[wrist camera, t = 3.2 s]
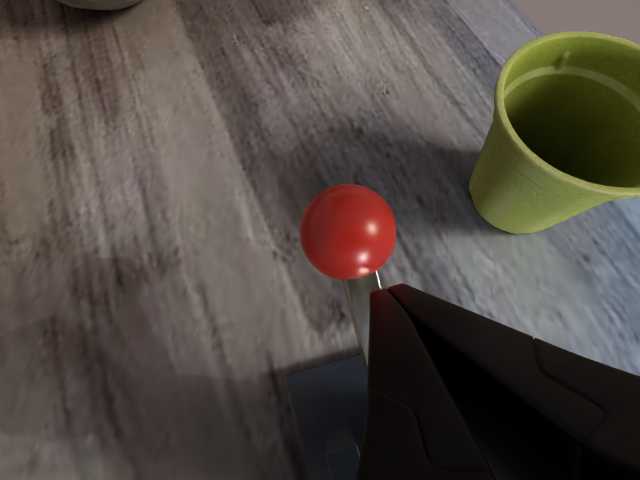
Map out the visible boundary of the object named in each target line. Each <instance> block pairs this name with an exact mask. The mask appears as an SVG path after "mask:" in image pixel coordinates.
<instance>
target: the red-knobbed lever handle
mask: <svg viewBox="0 0 640 480" xmlns="http://www.w3.org/2000/svg"><path fill="white" fill-rule="evenodd" d="M300 241H301V245H302V248H303V251H304V253H305V255H306V257H307V258H308V260H309V261H310V263H311V264H312V265H313V266H314V267H315V268H316V269H317V270H319V271H320V272H322V273H323V274H325V275H327V276H329V277H332V278H335V279H340V280H342V283H343V287H344V291H345V295H346V299H347V302H348V306H349V310H350V314H351V318H352V322H353V325H354V329H355V333H356V337H357V341H358V345H359V348H360V352H361V356H362V360H363V364H364V368H365V372H366V375H367V377H368V341H369V306H370V293H371V292H373V291H377V290H380V289H382V287H381V283H380V279H379V276H378V272H377V270H378V269H379V268H381V267H382V266H383V265H384V263H385V262H386V261H387V260H388V258H389V257H390V255H391V253H392V251H393V248H394V245H395V241H396V223H395V219H394V216H393V213H392V211H391V209H390V207H389V206H388V204H387V203H386V202H385V200H384V199H383V198H382V197H381V196H380V195H379V194H377V193H376V192H374V191H373V190H371V189H369V188H367V187H364V186H361V185H356V184H340V185H335V186H332V187H329V188H327V189H325V190H324V191H322V192H320V193H319V194H318V195H317V196H315V197H314V198H313V199H312V201H311V202H310V203H309V204H308V206H307V207H306V209H305V211H304V213H303V216H302V219H301V223H300Z"/></svg>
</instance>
